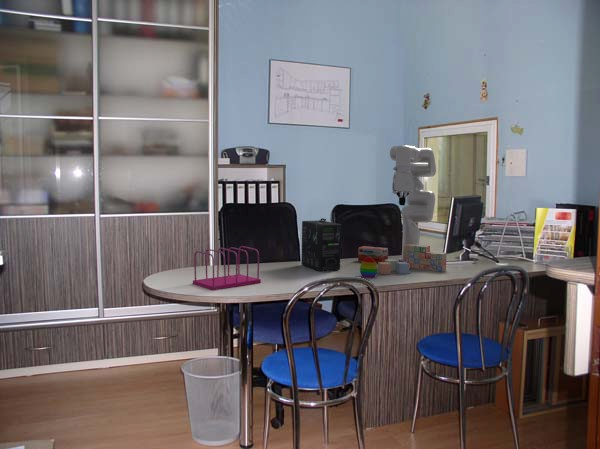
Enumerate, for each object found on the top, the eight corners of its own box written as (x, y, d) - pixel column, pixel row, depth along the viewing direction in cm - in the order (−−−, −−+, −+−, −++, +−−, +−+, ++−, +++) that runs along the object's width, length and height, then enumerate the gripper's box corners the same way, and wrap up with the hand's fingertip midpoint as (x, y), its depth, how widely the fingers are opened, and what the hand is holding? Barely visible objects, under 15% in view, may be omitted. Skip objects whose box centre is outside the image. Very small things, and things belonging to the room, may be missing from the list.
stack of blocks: (446, 270, 277) (447, 246, 276) (441, 272, 272) (442, 248, 271) (407, 266, 290) (408, 243, 288) (402, 268, 285) (403, 244, 283)
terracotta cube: (377, 272, 268) (377, 262, 268) (387, 271, 269) (387, 262, 269) (381, 274, 263) (381, 264, 263) (391, 273, 264) (391, 263, 264)
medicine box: (388, 261, 305) (388, 247, 304) (382, 263, 298) (382, 249, 297) (363, 259, 313) (363, 245, 312) (357, 261, 306) (357, 247, 305)
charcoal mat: (367, 270, 277) (367, 269, 277) (397, 268, 281) (397, 268, 281) (378, 275, 261) (378, 274, 261) (411, 274, 265) (411, 273, 265)
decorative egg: (358, 278, 254) (359, 257, 253) (361, 275, 262) (361, 255, 261) (376, 279, 252) (376, 258, 251) (378, 276, 260) (378, 255, 259)
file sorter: (261, 283, 242) (261, 248, 241) (212, 290, 226) (212, 253, 224) (239, 277, 255) (239, 244, 254) (192, 284, 239) (191, 249, 238)
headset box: (341, 270, 276) (341, 219, 274) (320, 272, 271) (320, 220, 268) (320, 263, 296) (320, 216, 294) (300, 265, 291) (300, 217, 288)
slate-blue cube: (395, 272, 269) (395, 262, 269) (404, 271, 270) (404, 261, 270) (399, 273, 264) (399, 263, 264) (409, 273, 266) (409, 263, 265)
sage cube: (384, 269, 277) (384, 259, 277) (393, 268, 279) (393, 259, 278) (388, 270, 273) (388, 261, 272) (397, 270, 274) (397, 260, 273)
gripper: (392, 169, 273) (391, 205, 275) (419, 169, 277) (418, 205, 279) (386, 169, 281) (385, 204, 282) (413, 169, 284) (412, 204, 286)
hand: (402, 205), depth 280 cm, fingers closed
